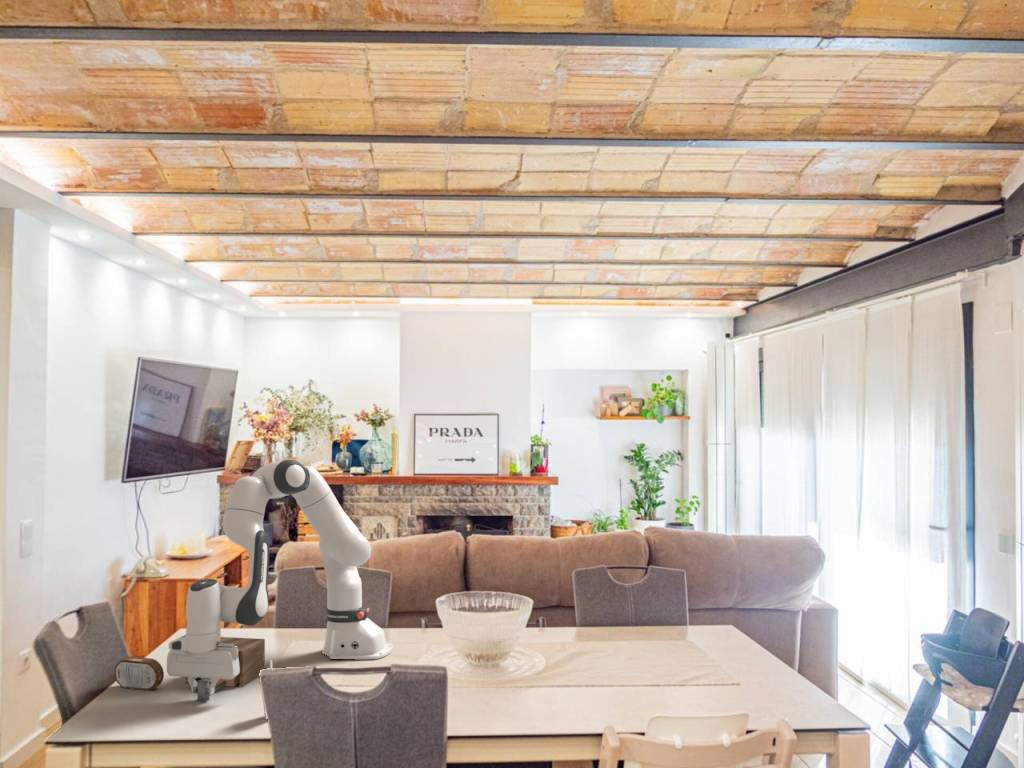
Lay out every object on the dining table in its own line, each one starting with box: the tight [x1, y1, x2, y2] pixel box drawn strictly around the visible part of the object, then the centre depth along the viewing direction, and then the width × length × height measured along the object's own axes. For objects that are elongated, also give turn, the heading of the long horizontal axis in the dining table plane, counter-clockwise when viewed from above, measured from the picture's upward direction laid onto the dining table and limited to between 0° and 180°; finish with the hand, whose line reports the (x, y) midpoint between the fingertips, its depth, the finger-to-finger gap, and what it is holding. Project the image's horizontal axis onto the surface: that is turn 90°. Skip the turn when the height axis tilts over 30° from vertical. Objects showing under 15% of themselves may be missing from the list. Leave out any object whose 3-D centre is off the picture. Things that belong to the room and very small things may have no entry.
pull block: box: [196, 662, 240, 702], centre depth 218 cm, size 5×18×5 cm, turn 170°
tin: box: [114, 656, 165, 691], centre depth 221 cm, size 15×3×8 cm, turn 74°
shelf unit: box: [185, 636, 266, 688], centre depth 229 cm, size 18×12×10 cm, turn 78°
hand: (203, 693), depth 211 cm, fingers closed on pull block, 3 cm apart
